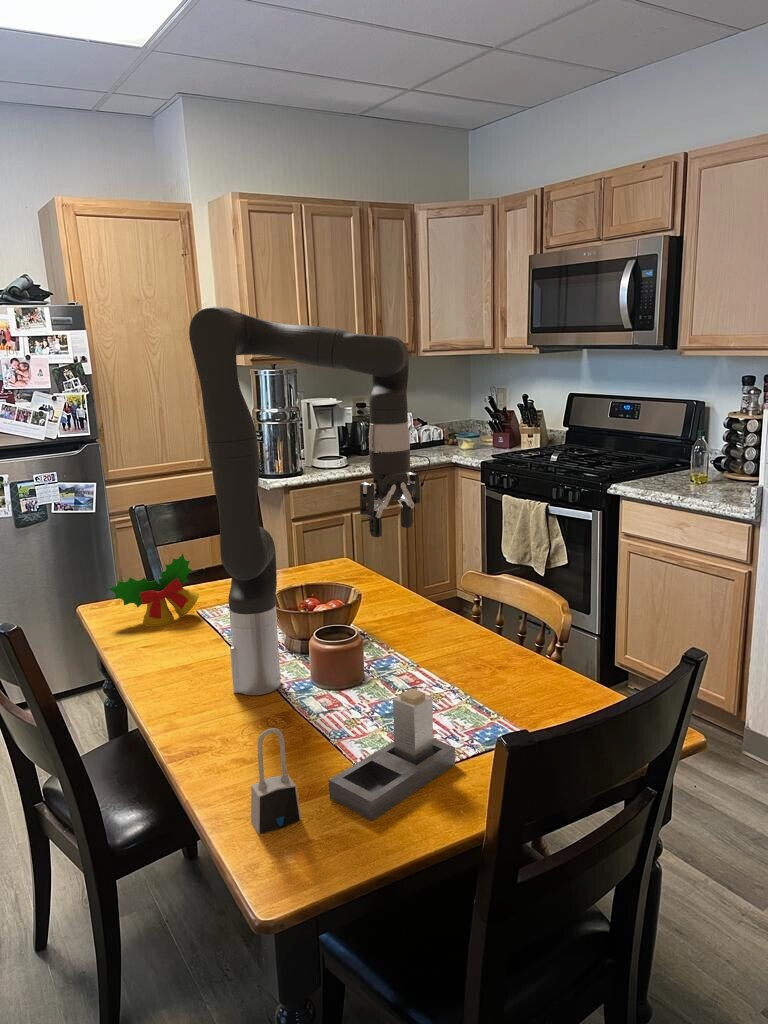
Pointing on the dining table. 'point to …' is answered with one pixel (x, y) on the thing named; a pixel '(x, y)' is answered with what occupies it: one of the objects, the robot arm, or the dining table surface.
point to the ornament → (160, 594)
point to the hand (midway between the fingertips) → (391, 531)
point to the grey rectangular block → (413, 726)
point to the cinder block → (387, 779)
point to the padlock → (273, 794)
